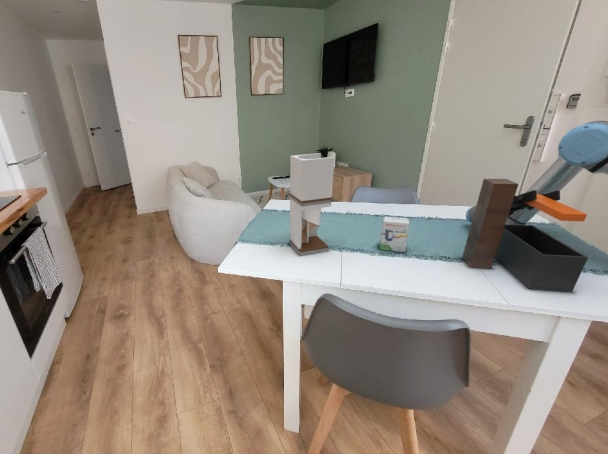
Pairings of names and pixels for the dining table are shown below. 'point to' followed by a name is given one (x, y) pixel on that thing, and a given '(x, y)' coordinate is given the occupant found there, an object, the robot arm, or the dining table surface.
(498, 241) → the post
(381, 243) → the ink box
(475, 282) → the dining table surface
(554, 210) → the orange plank
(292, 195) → the white coffee grinder
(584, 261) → the trash bin
